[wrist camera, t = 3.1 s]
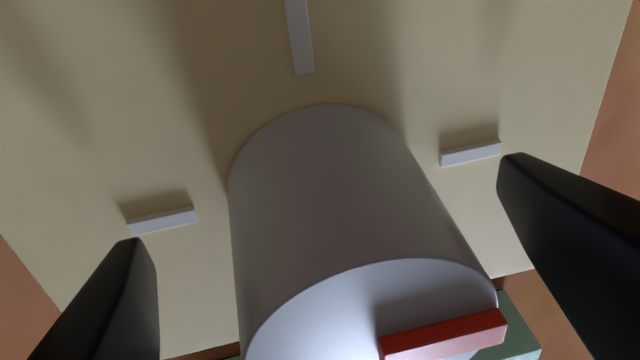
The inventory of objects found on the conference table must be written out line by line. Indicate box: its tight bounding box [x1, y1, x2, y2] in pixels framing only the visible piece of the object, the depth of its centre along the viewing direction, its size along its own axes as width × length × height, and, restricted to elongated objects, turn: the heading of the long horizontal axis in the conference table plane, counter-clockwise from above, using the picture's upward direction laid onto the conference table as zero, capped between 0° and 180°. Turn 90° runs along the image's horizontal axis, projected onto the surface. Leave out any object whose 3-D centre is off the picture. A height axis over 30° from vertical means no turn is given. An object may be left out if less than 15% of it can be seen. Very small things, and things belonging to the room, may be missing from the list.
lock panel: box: [0, 0, 633, 360], centre depth 11 cm, size 13×10×3 cm
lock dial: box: [227, 104, 508, 360], centre depth 9 cm, size 4×4×4 cm
